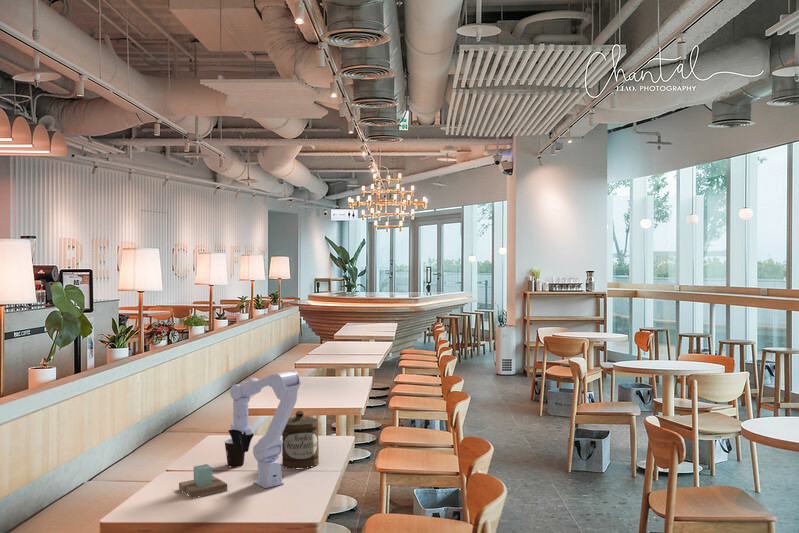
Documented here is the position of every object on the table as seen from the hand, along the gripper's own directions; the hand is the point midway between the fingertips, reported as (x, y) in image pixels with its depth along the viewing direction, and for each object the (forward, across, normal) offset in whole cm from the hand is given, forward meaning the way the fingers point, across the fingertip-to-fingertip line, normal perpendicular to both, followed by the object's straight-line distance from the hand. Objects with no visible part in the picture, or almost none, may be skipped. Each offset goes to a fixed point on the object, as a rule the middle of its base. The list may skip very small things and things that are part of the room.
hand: (240, 449), depth 263 cm
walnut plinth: (+10, +6, -18) cm, 22 cm away
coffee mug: (+11, -18, +6) cm, 22 cm away
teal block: (+8, +6, -18) cm, 21 cm away
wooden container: (+11, 0, +26) cm, 28 cm away
